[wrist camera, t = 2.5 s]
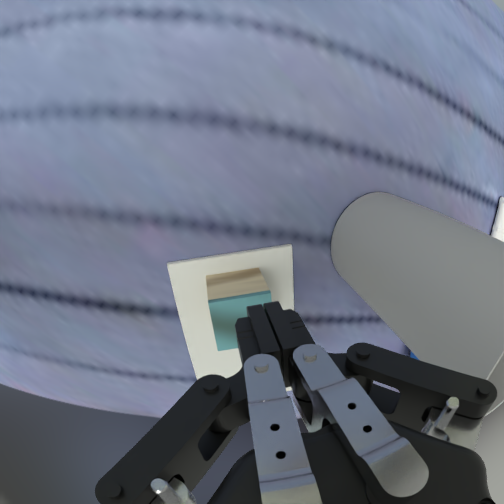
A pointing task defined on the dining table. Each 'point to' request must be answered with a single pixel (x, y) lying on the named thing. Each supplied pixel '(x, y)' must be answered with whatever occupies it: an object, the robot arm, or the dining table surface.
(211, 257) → the cream mat
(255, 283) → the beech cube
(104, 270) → the dining table surface
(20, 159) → the dining table surface
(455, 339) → the cylinder vase
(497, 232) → the white brass knuckles
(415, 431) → the robot arm
